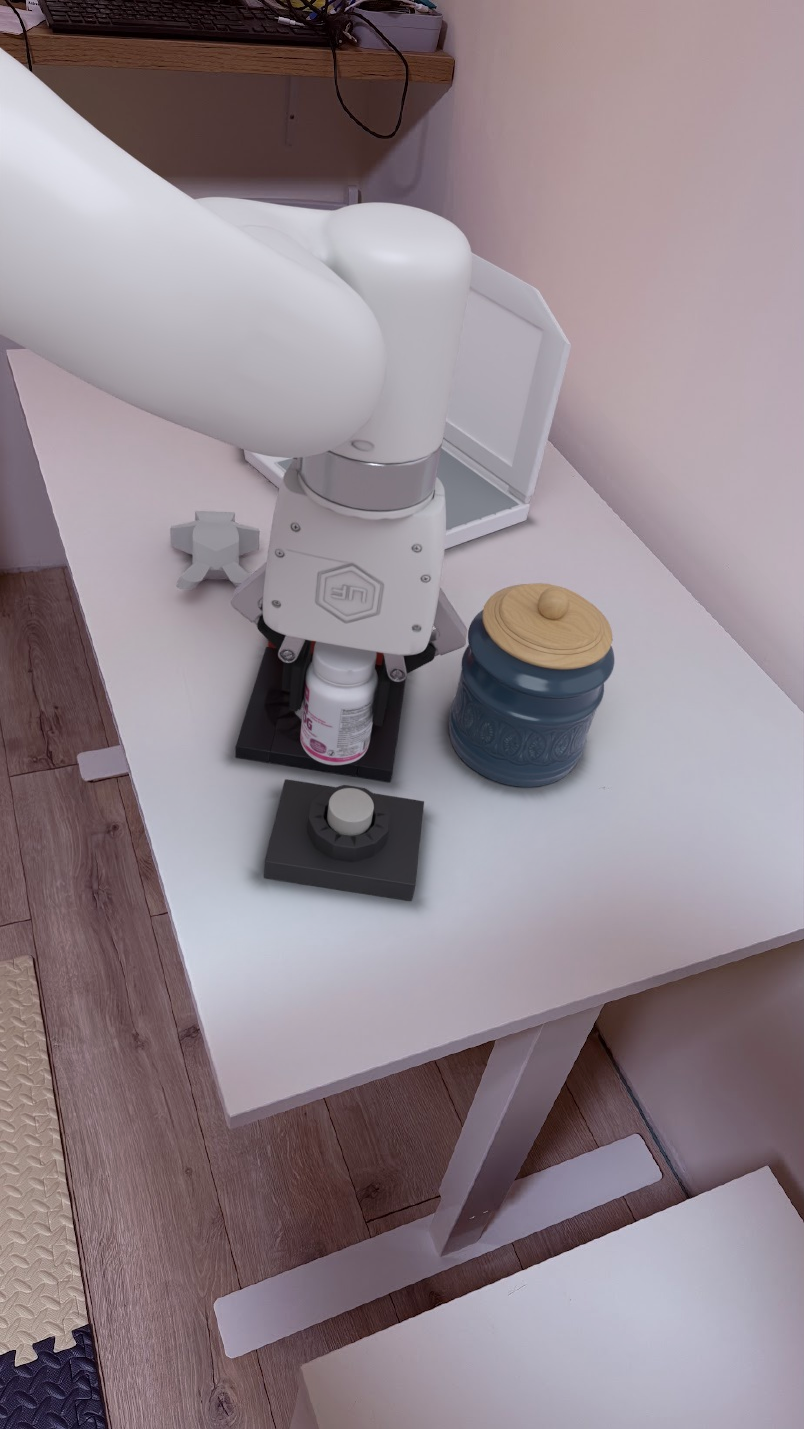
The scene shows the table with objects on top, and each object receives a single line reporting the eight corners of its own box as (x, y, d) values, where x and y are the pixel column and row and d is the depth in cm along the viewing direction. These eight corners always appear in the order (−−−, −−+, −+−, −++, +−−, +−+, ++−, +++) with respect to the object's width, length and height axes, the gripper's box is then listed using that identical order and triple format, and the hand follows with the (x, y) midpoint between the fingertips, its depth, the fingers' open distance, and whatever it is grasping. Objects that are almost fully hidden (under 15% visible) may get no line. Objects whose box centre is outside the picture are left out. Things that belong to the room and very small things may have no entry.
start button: (324, 832, 80) (325, 817, 79) (330, 798, 83) (332, 784, 82) (368, 839, 81) (371, 825, 79) (373, 805, 83) (376, 791, 82)
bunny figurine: (257, 500, 113) (264, 565, 101) (256, 541, 116) (262, 609, 104) (171, 496, 111) (167, 563, 100) (172, 538, 114) (168, 608, 103)
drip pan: (235, 757, 90) (235, 746, 89) (265, 657, 100) (266, 646, 99) (390, 782, 90) (392, 771, 89) (405, 680, 100) (407, 669, 99)
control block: (263, 878, 81) (265, 846, 78) (283, 795, 87) (286, 763, 85) (411, 901, 81) (418, 871, 78) (420, 817, 88) (427, 786, 85)
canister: (607, 766, 95) (665, 619, 83) (495, 808, 90) (540, 657, 78) (529, 680, 103) (571, 534, 91) (420, 713, 97) (451, 562, 85)
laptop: (215, 438, 129) (217, 220, 111) (365, 401, 142) (389, 201, 124) (374, 575, 112) (406, 345, 94) (528, 520, 125) (582, 307, 107)
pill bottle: (286, 732, 70) (293, 638, 64) (343, 710, 72) (355, 617, 66) (323, 777, 67) (334, 683, 61) (382, 752, 69) (397, 659, 64)
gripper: (195, 466, 52) (198, 720, 64) (522, 523, 52) (461, 766, 64) (230, 401, 57) (226, 647, 70) (525, 453, 58) (468, 689, 70)
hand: (339, 702), depth 67 cm, fingers closed on pill bottle, 4 cm apart
